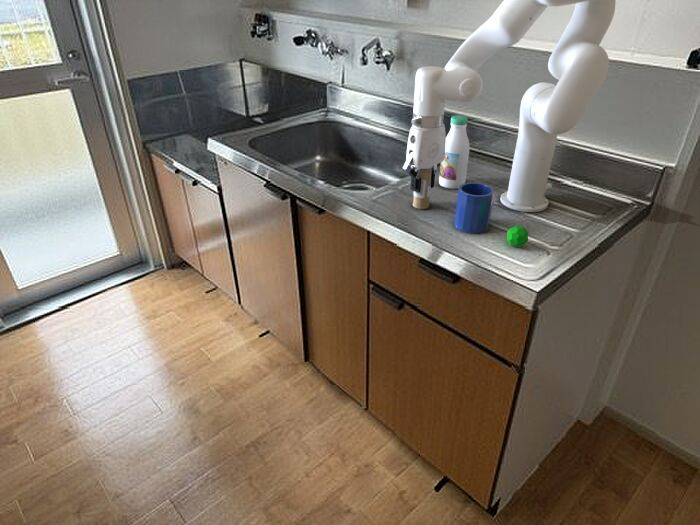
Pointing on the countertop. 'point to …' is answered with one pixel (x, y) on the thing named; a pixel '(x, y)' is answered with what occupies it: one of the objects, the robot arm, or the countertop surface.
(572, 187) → the countertop surface
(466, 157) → the milk bottle
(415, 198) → the sprinkles bottle
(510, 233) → the polyhedron
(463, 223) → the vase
